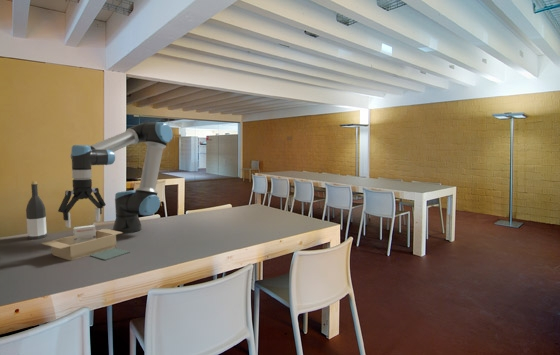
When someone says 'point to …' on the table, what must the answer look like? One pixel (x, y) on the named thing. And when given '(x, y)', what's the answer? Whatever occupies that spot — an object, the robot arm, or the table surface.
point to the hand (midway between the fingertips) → (83, 224)
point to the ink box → (84, 233)
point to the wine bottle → (36, 215)
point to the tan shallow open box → (83, 245)
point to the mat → (109, 254)
